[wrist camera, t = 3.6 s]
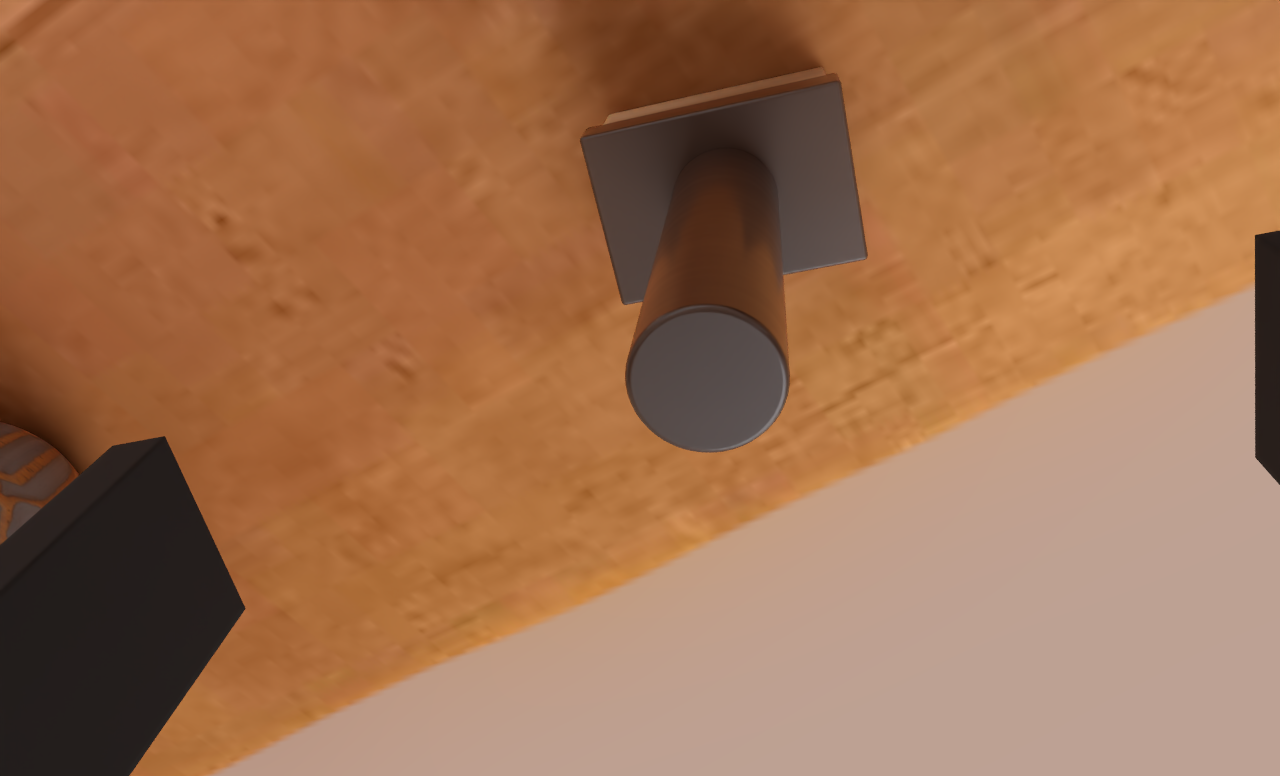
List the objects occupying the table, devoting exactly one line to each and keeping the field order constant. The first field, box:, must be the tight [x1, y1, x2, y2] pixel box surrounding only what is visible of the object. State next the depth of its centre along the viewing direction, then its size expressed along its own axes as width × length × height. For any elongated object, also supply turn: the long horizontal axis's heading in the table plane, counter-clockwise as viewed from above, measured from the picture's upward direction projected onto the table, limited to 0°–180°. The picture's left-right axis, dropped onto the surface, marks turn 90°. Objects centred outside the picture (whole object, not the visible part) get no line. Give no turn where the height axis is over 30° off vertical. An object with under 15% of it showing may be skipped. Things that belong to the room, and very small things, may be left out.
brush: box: [580, 67, 868, 452], centre depth 20 cm, size 5×4×12 cm
